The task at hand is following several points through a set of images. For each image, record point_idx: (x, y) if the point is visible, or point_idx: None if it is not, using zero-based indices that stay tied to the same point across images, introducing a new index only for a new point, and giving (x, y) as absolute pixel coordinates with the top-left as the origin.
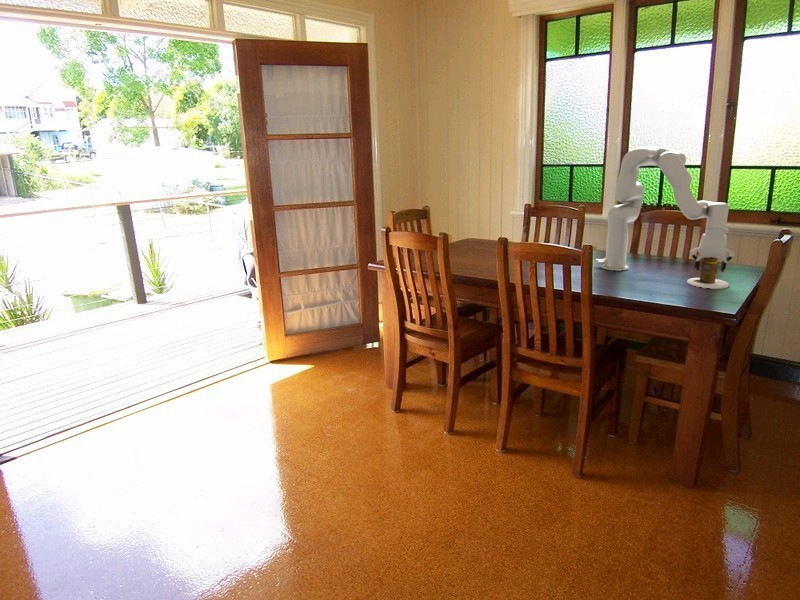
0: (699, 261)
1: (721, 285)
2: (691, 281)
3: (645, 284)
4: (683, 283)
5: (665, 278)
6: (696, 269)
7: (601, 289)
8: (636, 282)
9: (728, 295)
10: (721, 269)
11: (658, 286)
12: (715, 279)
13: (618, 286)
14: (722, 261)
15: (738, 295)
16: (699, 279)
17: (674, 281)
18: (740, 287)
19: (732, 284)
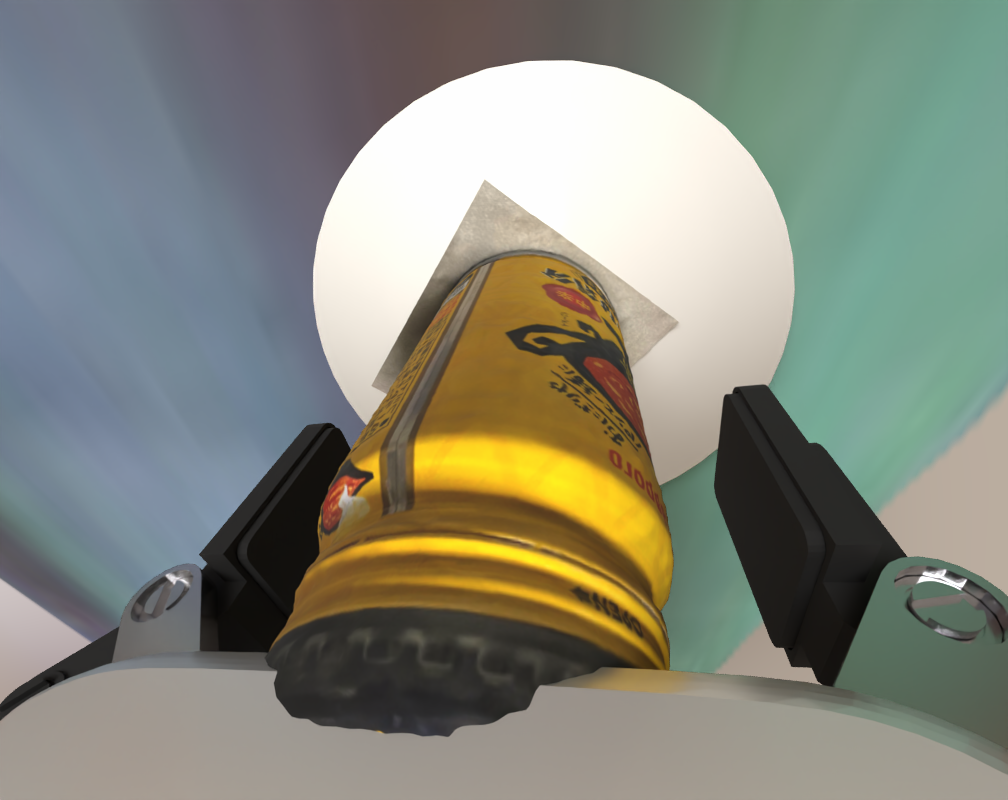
0: (292, 612)
1: (669, 447)
2: (374, 389)
3: (130, 503)
4: (321, 390)
5: (78, 237)
6: None
7: (71, 622)
8: (51, 474)
9: (673, 600)
10: (726, 479)
11: (221, 524)
12: (652, 136)
13: (71, 572)
14: (837, 556)
15: (749, 589)
16: (432, 277)
17: (222, 342)
18: (910, 349)
19: (874, 215)
